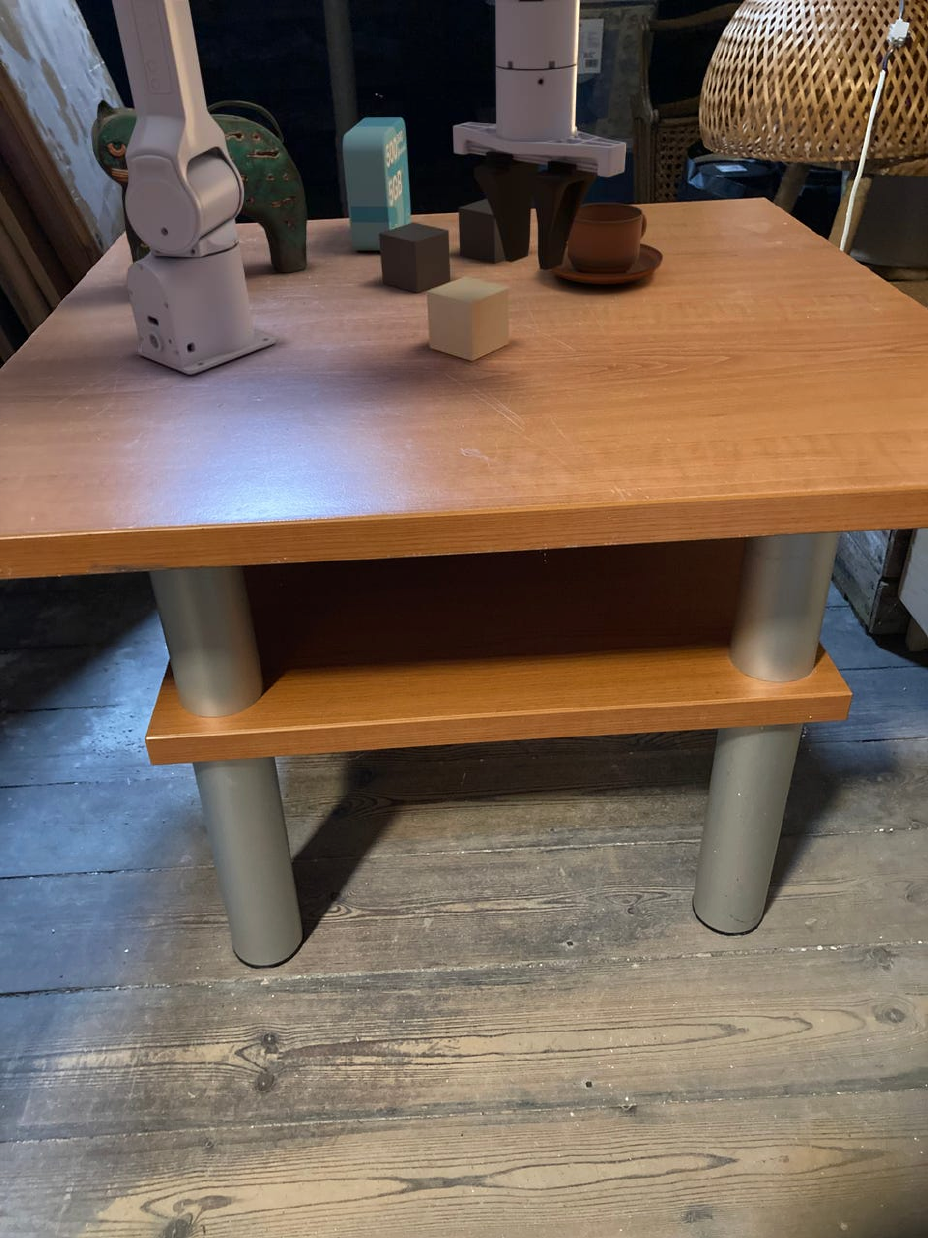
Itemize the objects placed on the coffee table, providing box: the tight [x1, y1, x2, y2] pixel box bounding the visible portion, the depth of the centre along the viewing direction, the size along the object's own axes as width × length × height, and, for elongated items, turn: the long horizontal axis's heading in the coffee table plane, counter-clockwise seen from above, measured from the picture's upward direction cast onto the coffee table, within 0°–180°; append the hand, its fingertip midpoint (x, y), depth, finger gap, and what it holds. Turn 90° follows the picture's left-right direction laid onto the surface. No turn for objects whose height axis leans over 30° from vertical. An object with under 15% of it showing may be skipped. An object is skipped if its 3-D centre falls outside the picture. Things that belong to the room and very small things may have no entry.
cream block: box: [426, 276, 510, 362], centre depth 83 cm, size 5×5×5 cm
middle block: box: [379, 222, 451, 294], centre depth 98 cm, size 5×5×5 cm
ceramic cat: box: [90, 98, 308, 274], centre depth 95 cm, size 20×6×20 cm, turn 121°
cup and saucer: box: [550, 202, 664, 285], centre depth 97 cm, size 12×12×6 cm
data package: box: [342, 116, 412, 252], centre depth 108 cm, size 12×4×12 cm, turn 172°
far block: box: [458, 198, 506, 264], centre depth 105 cm, size 5×5×5 cm
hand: (533, 262), depth 76 cm, fingers open, 3 cm apart
